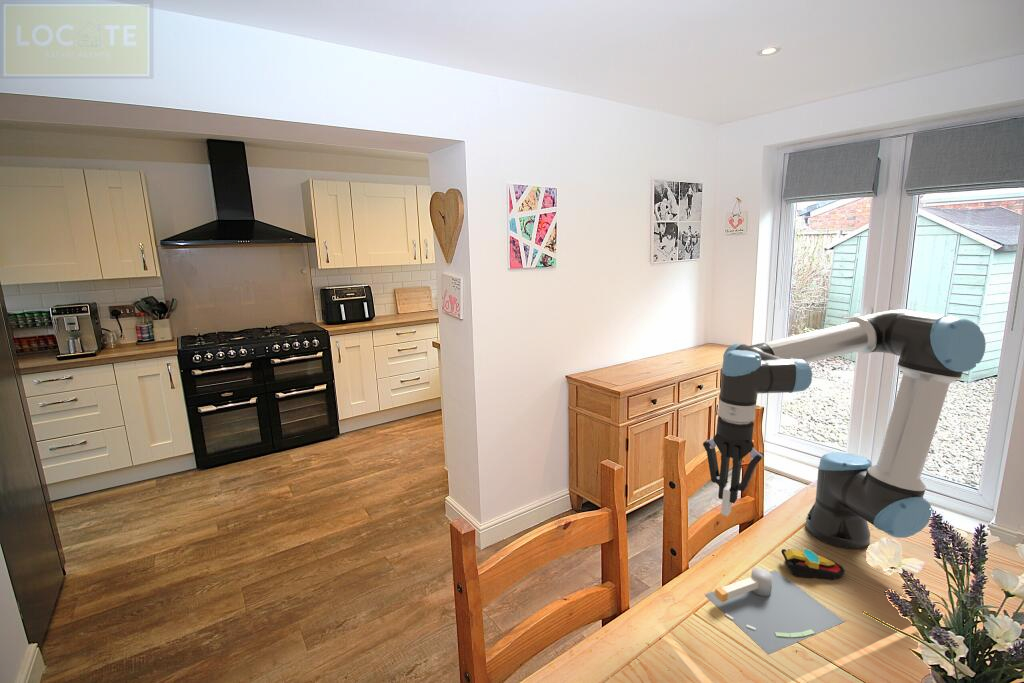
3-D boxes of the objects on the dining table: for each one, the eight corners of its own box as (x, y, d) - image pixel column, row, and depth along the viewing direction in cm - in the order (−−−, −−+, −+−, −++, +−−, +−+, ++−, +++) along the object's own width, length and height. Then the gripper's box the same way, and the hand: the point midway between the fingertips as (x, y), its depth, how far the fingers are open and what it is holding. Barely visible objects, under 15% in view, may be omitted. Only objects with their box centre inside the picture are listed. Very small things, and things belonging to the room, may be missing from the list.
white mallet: (760, 580, 118) (761, 566, 117) (775, 592, 114) (777, 578, 113) (711, 598, 113) (711, 583, 112) (725, 611, 109) (726, 596, 108)
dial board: (774, 574, 122) (775, 569, 122) (844, 626, 106) (845, 620, 105) (703, 599, 115) (703, 594, 114) (766, 659, 98) (766, 653, 98)
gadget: (844, 591, 117) (851, 572, 116) (785, 577, 120) (791, 558, 118) (833, 573, 123) (839, 555, 122) (777, 560, 126) (783, 542, 124)
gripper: (700, 416, 111) (692, 509, 116) (762, 430, 103) (751, 530, 108) (711, 407, 117) (703, 497, 122) (771, 420, 109) (760, 516, 114)
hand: (726, 512), depth 115 cm, fingers closed
